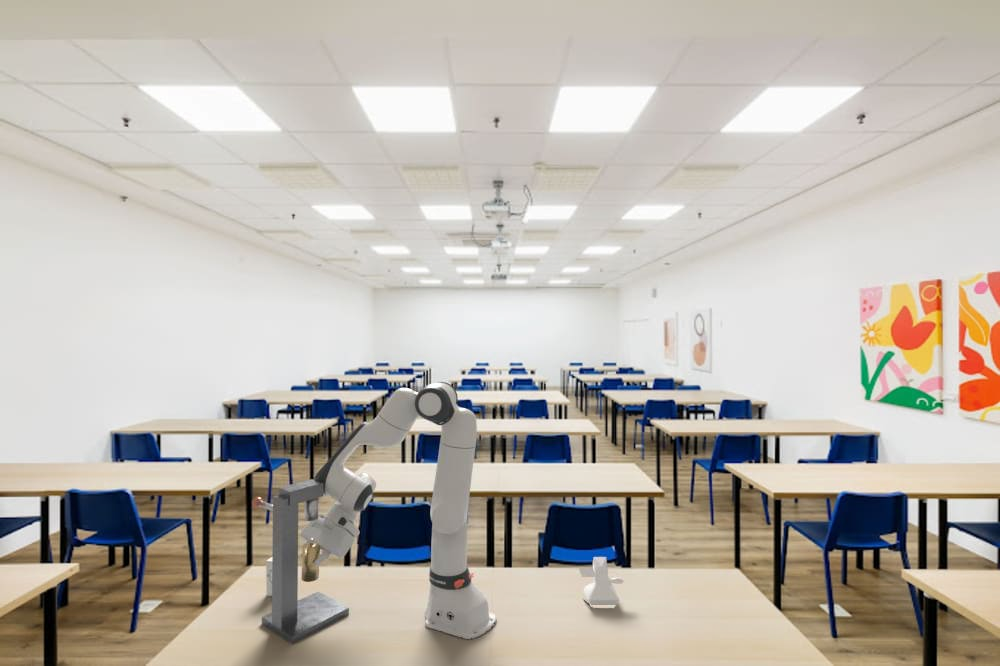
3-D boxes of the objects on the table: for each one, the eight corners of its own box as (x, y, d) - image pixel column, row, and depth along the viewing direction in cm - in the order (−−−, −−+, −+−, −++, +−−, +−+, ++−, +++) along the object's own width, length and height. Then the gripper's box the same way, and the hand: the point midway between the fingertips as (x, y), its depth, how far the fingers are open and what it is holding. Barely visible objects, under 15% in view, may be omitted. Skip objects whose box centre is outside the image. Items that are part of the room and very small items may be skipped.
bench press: (348, 614, 159) (350, 481, 159) (292, 643, 144) (293, 497, 144) (302, 589, 174) (303, 467, 174) (246, 613, 159) (247, 480, 159)
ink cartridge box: (281, 583, 178) (281, 540, 178) (294, 585, 177) (294, 542, 177) (265, 596, 170) (265, 551, 170) (278, 597, 169) (279, 552, 169)
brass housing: (322, 577, 159) (323, 538, 159) (307, 583, 155) (309, 543, 155) (312, 572, 162) (313, 534, 162) (298, 578, 158) (299, 539, 158)
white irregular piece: (626, 610, 164) (627, 567, 163) (582, 610, 163) (583, 567, 163) (620, 596, 172) (620, 555, 172) (578, 596, 172) (578, 555, 172)
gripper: (313, 507, 170) (284, 545, 163) (352, 524, 158) (322, 566, 150) (325, 517, 174) (296, 555, 166) (363, 534, 161) (334, 576, 154)
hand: (309, 561), depth 158 cm, fingers closed on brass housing, 5 cm apart
